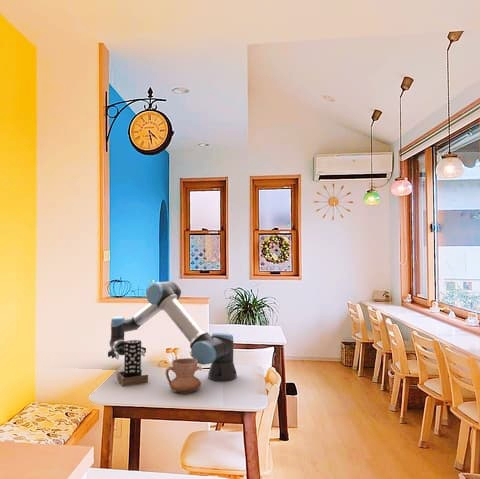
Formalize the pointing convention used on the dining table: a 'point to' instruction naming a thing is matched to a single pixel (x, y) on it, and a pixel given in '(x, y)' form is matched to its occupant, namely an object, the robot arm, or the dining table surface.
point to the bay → (131, 379)
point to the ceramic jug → (184, 375)
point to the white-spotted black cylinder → (132, 358)
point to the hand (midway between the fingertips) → (131, 355)
